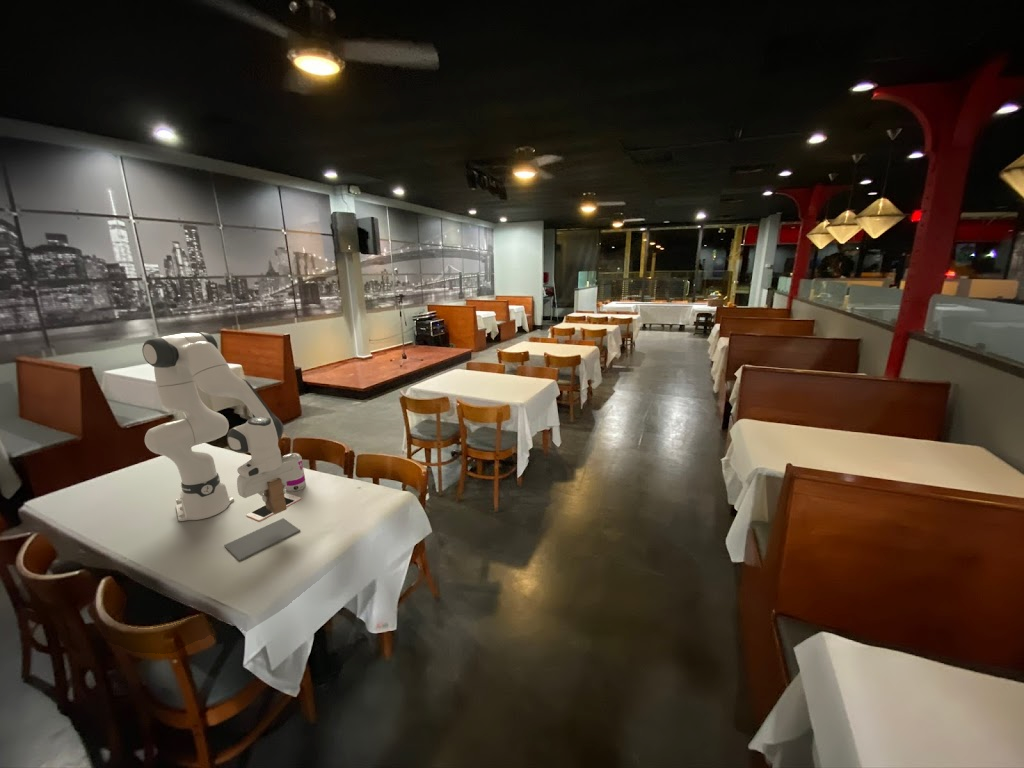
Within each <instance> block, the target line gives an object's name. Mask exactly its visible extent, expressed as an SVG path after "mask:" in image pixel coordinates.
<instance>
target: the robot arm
mask: <svg viewBox="0 0 1024 768" xmlns="http://www.w3.org/2000/svg"><path fill="white" fill-rule="evenodd" d="M141 348H142V350H141V351H142V356H143V358H144V360H145V361H146V363H147V364H149V365H150V366H152V367H154V368H153V370H154V371H153V373H154V378H155V382H156V383H155V384H156V387H157V392H158V395H159V398H160V399H159V400H160V401H161V405H162V406H163V407H164V408H165V409H166V410H171V411H175V412H181V413H184V414H185V416H186V417H185V418H181V419H177V420H174V421H169V422H168V421H167V422H165V423H162V424H158V425H157V426H154V427H151V428H149V429H148V430H147V431H146V433H145V436H144V444H145V446H146V448H147V450H149V451H150V452H152V453H154V454H155V455H161V456H163V457H166V458H168V459H170V460H171V461H172V462H173V463H174V464H175V466H176V467H177V469H178V472H179V477H180V479H181V483H180V484H181V485H180V487H181V490H182V491H181V492H180V493H179V496H180V497H179V498H176V499H175V503H176V504H175V508H176V514H177V519H178V521H179V522H184V521H196V520H197V521H198V520H203V519H207V518H211V517H214V516H216V515H218V514H220V513H222V512H223V511H225V510H226V509H227V508H228V507H229V505H230V504H231V503H233V502H234V501H235V499H234V497H232V496H231V495H230V496H229V493H228V489H227V487H226V484H224V483H222V482H221V480H220V478H221V477H220V475H219V473H218V472H217V468H216V464H215V460H214V457H213V456H212V455H211V454H210V453H207V452H203V451H193V450H192V448H193V447H196V446H199V445H202V444H205V443H209V442H214V441H216V440H217V439H220V438H222V437H224V436H226V435H227V436H226V442H227V446H228V448H229V449H230V450H231V451H232V452H234V453H235V452H236V453H239V454H247V453H250V454H251V458H250V460H248V461H246V462H245V463H243V464H242V465H240V466H239V467H238V468H236V469H237V473H238V476H237V478H236V487H237V493H238V495H239V496H240V497H242V498H244V499H246V498H249V497H251V496H254V495H257V494H258V495H260V497H261V498H262V501H263V502H264V503H265V502H266V501H268V500H269V496H268V495H264V491H265V490H267V489H268V485H267V482H269V481H271V480H273V479H276V478H280V479H281V480H282V486H283V492H284V495H286V492H285V490H286V489H285V488H286V485H287V481H290V480H293V479H295V478H298V477H300V475H301V469H300V466H299V464H298V462H299V459H298V456H297V455H296V454H290V453H289V454H290V455H287V454H286V455H287V456H284V455H283V456H284V457H283V456H282V454H281V450H280V449H281V448H280V447H279V440H280V439H281V438H282V436H283V434H284V430H285V428H284V424H283V422H282V421H281V419H279V418H278V417H277V416H276V415H275V413H274V412H272V411H271V409H270V407H269V406H268V405H267V404H266V403H265V401H264V400H263V398H261V396H260V395H259V393H258V392H257V391H256V390H255V388H254V387H253V385H252V384H250V382H249V381H248V380H246V379H244V378H241V377H240V376H238V375H236V373H235V372H234V371H233V370H232V369H231V368H230V366H229V364H228V362H227V360H226V359H225V358H224V355H222V353H221V352H220V350H219V345H218V343H217V340H216V339H215V338H214V336H213V335H212V334H210V333H208V332H201V331H200V332H198V331H196V332H182V333H181V332H180V333H176V334H171V335H166V336H165V335H164V336H157V337H153V338H150V339H147V340H146V341H144V344H143V345H142V347H141ZM197 387H198V388H197ZM198 389H199V390H200V391H201V392H203V393H205V394H207V395H209V396H213V397H219V398H221V397H222V398H232V399H233V398H234V399H237V400H239V401H241V402H242V403H244V404H245V406H246V407H247V408H248V410H249V411H250V412H251V413H252V415H253V416H254V417H251V418H249V419H247V421H246V422H245V423H242V424H241V425H236V426H234V427H232V428H230V429H229V427H230V424H229V420H228V418H226V416H224V415H223V413H222V414H221V413H220V412H217V411H214V410H212V409H211V408H209V407H208V406H207V405H206V404H205V403H204V402H203V401H202V399H201V397H200V394H199V391H198ZM294 455H295V456H294Z"/></svg>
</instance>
